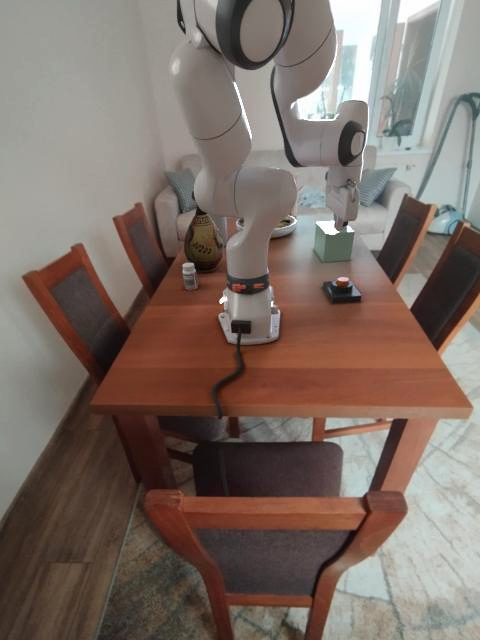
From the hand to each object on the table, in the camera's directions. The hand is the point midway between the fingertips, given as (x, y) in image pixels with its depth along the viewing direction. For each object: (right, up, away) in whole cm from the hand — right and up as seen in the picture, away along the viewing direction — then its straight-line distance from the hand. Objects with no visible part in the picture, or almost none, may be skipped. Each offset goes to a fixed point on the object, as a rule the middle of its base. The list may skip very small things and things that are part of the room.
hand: (337, 229), depth 98 cm
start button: (+4, -14, +7) cm, 17 cm away
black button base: (+4, -17, +10) cm, 20 cm away
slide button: (+11, +15, +32) cm, 37 cm away
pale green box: (+8, +6, +39) cm, 40 cm away
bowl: (-17, +28, +68) cm, 75 cm away
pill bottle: (-47, -13, +20) cm, 52 cm away
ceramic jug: (-43, -1, +34) cm, 55 cm away
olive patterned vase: (-42, +17, +56) cm, 72 cm away
